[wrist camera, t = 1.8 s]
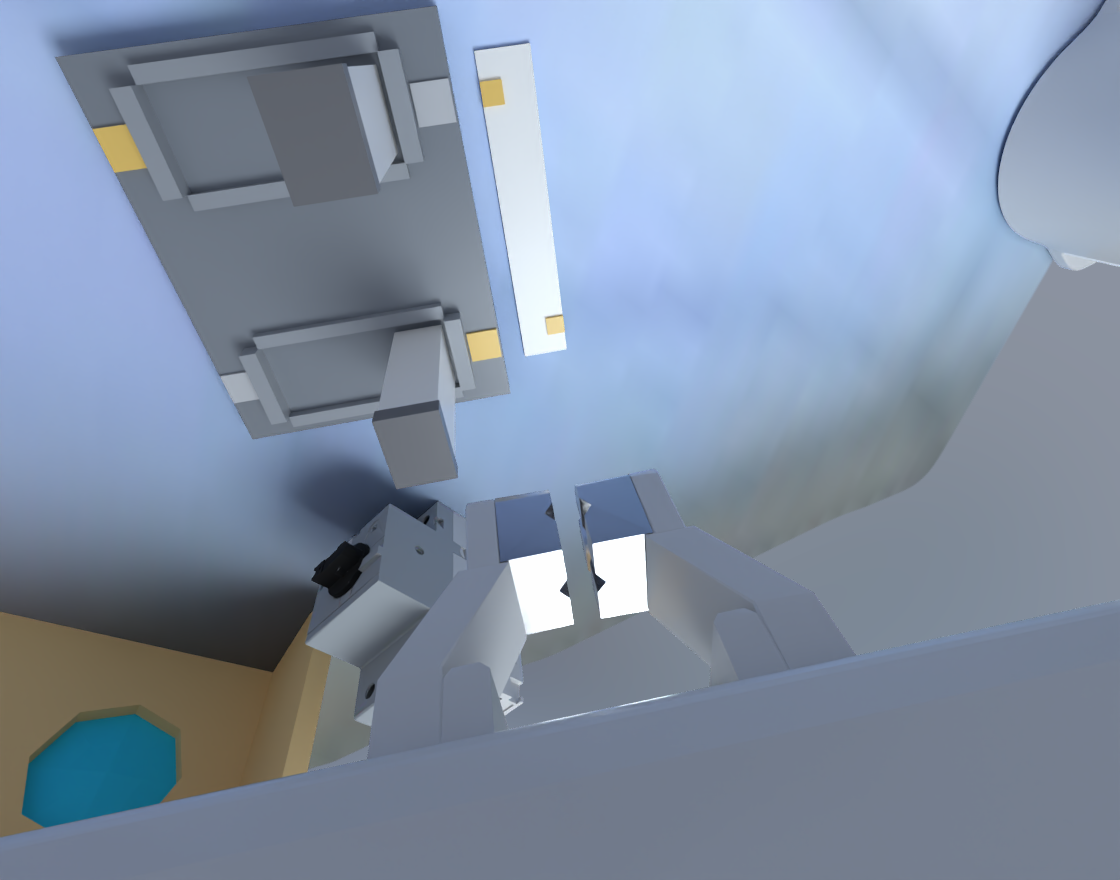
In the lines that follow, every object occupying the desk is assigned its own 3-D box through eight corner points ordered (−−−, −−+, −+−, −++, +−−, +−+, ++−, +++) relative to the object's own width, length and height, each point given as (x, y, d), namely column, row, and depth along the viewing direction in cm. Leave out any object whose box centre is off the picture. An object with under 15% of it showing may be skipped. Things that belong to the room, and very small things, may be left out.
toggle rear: (442, 322, 36) (438, 410, 27) (456, 380, 39) (457, 477, 30) (392, 331, 36) (371, 421, 27) (410, 388, 39) (396, 489, 30)
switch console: (523, -4, 29) (529, -9, 27) (569, 372, 42) (575, 390, 40) (72, 57, 28) (39, 57, 26) (258, 427, 40) (247, 449, 38)
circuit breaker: (375, 460, 43) (345, 618, 31) (508, 546, 51) (526, 703, 38) (315, 517, 46) (265, 687, 33) (451, 592, 53) (450, 755, 40)
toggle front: (377, 62, 28) (341, 63, 19) (400, 154, 31) (378, 193, 22) (313, 70, 28) (246, 76, 19) (341, 163, 31) (294, 206, 22)
